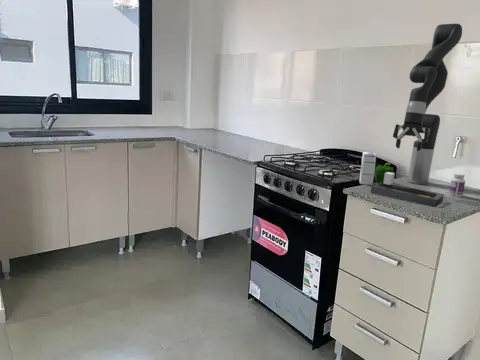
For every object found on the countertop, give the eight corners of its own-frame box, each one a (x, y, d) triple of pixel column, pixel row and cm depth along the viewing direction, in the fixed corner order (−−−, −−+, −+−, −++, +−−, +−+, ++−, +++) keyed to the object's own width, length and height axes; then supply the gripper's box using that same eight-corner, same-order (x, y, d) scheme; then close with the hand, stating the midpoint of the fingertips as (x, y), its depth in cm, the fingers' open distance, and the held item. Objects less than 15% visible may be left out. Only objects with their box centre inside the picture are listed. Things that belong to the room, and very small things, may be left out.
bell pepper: (369, 181, 189) (372, 160, 187) (382, 180, 193) (385, 160, 190) (381, 185, 182) (385, 164, 179) (395, 184, 185) (398, 163, 183)
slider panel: (380, 187, 177) (381, 180, 176) (442, 201, 162) (444, 192, 161) (370, 192, 168) (371, 184, 167) (435, 207, 152) (437, 198, 152)
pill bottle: (460, 194, 174) (465, 173, 171) (463, 197, 169) (467, 176, 166) (447, 193, 175) (451, 172, 173) (449, 196, 170) (453, 174, 168)
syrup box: (372, 185, 181) (377, 154, 177) (359, 184, 182) (363, 153, 178) (371, 182, 186) (375, 152, 183) (358, 181, 187) (362, 151, 184)
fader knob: (386, 183, 171) (387, 171, 170) (393, 185, 169) (394, 173, 168) (382, 185, 168) (384, 173, 167) (389, 186, 166) (391, 174, 165)
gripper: (434, 115, 169) (426, 152, 171) (400, 112, 178) (393, 148, 180) (431, 113, 163) (422, 151, 165) (396, 110, 172) (388, 146, 174)
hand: (407, 149), depth 172 cm, fingers open, 8 cm apart
